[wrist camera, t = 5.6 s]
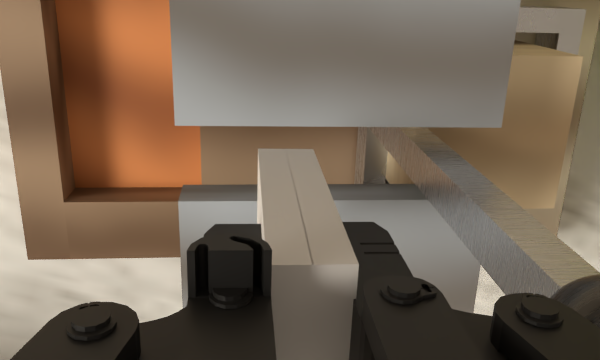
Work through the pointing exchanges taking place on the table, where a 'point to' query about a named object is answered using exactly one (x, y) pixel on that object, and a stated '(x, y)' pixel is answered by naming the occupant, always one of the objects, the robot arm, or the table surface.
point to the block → (521, 129)
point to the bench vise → (246, 114)
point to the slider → (491, 193)
